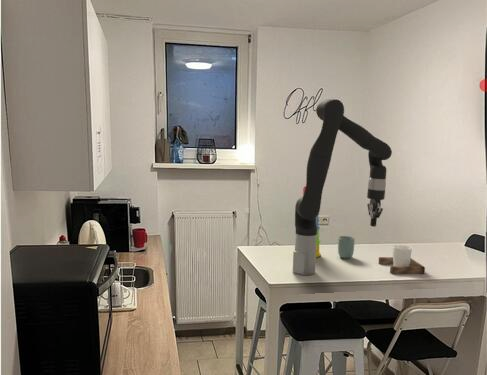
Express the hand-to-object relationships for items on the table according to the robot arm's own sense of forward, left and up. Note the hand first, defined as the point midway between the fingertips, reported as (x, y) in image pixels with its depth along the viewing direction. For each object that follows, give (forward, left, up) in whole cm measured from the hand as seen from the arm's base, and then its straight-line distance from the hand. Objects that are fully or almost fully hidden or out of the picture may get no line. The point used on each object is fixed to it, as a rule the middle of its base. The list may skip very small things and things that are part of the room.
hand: (373, 226), depth 192 cm
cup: (+4, +16, -20) cm, 25 cm away
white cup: (+9, -10, -20) cm, 24 cm away
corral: (+9, -10, -19) cm, 24 cm away
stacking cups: (-6, +30, -20) cm, 36 cm away
